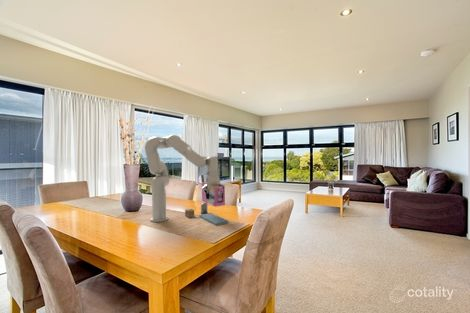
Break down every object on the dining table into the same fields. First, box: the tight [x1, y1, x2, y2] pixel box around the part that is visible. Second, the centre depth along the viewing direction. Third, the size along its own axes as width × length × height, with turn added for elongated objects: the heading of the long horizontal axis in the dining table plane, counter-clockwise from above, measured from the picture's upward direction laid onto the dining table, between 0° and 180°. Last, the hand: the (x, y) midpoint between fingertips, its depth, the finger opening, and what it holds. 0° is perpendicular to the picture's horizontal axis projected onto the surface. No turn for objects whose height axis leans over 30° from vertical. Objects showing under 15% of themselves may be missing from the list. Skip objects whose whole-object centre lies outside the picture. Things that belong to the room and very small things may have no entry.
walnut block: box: [184, 208, 195, 219], centre depth 174 cm, size 5×5×5 cm
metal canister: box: [200, 202, 208, 215], centre depth 182 cm, size 5×5×8 cm
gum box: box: [201, 182, 226, 207], centre depth 164 cm, size 24×8×14 cm, turn 32°
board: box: [198, 212, 229, 226], centre depth 165 cm, size 24×10×2 cm, turn 36°
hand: (213, 197), depth 165 cm, fingers closed on gum box, 8 cm apart
